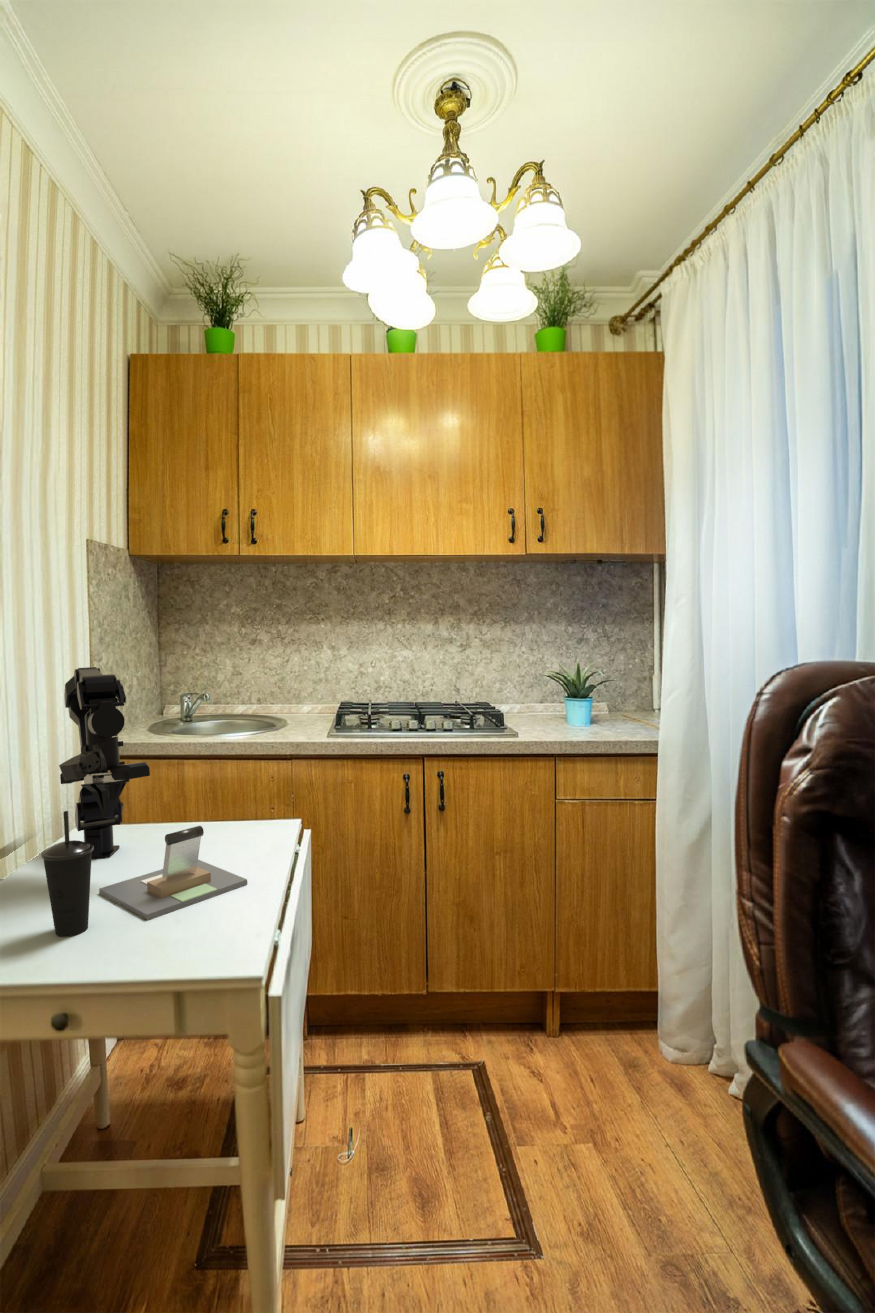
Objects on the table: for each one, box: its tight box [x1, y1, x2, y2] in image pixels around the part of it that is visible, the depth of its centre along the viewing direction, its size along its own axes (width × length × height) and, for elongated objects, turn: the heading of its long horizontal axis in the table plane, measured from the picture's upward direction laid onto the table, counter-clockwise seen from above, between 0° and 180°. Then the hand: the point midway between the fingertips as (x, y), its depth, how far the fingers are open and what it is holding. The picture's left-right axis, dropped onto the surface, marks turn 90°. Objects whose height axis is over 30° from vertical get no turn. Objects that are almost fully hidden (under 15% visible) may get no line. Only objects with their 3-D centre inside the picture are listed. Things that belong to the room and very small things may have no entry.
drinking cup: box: [40, 810, 94, 938], centre depth 117 cm, size 8×8×20 cm
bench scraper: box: [162, 825, 205, 881], centre depth 132 cm, size 2×7×9 cm, turn 140°
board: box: [98, 859, 248, 921], centre depth 135 cm, size 18×20×3 cm
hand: (107, 817), depth 140 cm, fingers closed
